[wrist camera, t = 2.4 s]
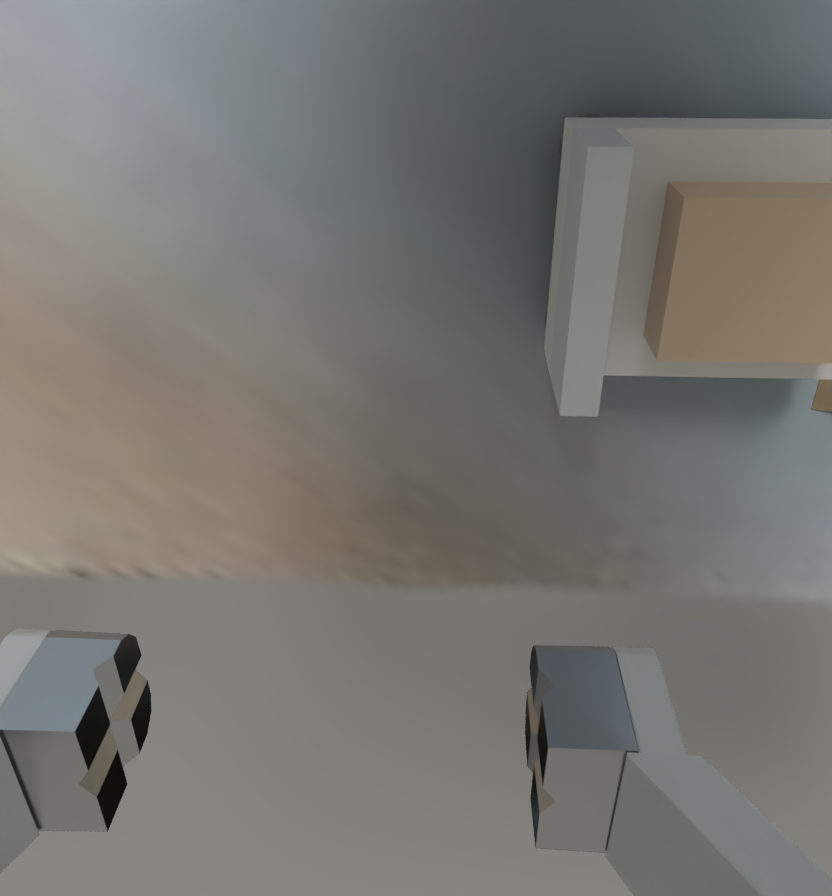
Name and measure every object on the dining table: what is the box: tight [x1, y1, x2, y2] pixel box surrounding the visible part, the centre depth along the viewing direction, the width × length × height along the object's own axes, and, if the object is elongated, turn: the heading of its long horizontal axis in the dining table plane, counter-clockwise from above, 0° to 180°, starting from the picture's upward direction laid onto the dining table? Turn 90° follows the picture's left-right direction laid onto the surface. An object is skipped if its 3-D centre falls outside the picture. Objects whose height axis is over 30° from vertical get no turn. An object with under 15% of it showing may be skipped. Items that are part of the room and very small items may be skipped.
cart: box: [544, 115, 832, 417], centre depth 25 cm, size 8×10×6 cm
